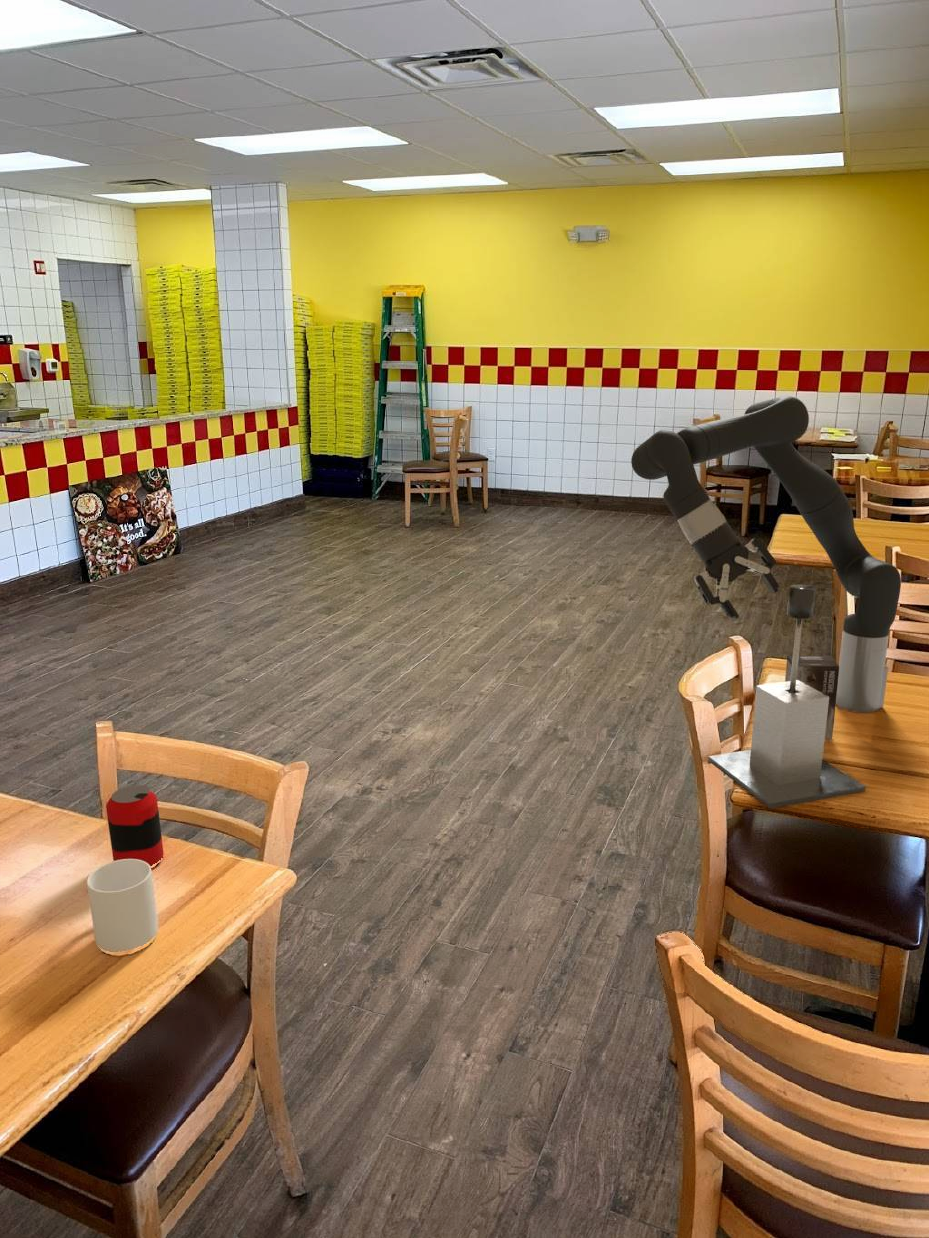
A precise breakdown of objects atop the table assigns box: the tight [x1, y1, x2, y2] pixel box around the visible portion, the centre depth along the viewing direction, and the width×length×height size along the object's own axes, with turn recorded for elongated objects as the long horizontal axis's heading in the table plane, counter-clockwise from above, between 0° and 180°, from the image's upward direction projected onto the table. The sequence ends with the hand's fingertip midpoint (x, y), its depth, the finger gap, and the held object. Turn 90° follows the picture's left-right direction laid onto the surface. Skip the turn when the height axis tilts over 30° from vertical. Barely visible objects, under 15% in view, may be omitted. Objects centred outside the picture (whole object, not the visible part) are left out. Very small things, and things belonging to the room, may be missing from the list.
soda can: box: [105, 785, 165, 866], centre depth 146 cm, size 8×8×12 cm
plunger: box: [786, 584, 817, 694], centre depth 167 cm, size 6×6×22 cm
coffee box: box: [784, 655, 839, 740], centre depth 190 cm, size 9×6×16 cm
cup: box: [86, 859, 159, 952], centre depth 129 cm, size 8×12×10 cm
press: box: [707, 680, 867, 809], centre depth 172 cm, size 20×20×17 cm
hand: (755, 605), depth 169 cm, fingers open, 8 cm apart
